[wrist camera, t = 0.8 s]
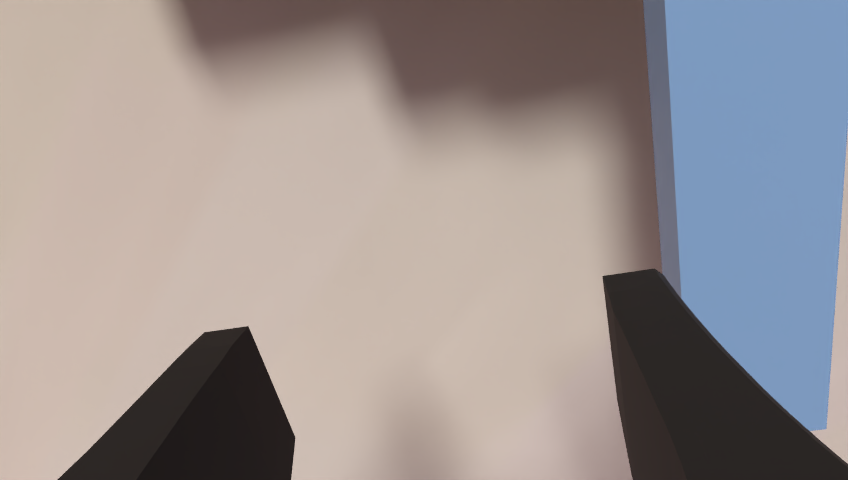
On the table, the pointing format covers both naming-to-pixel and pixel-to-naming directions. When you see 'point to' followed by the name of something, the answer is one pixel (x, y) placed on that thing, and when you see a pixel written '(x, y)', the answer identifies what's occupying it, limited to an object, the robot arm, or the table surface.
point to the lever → (754, 179)
